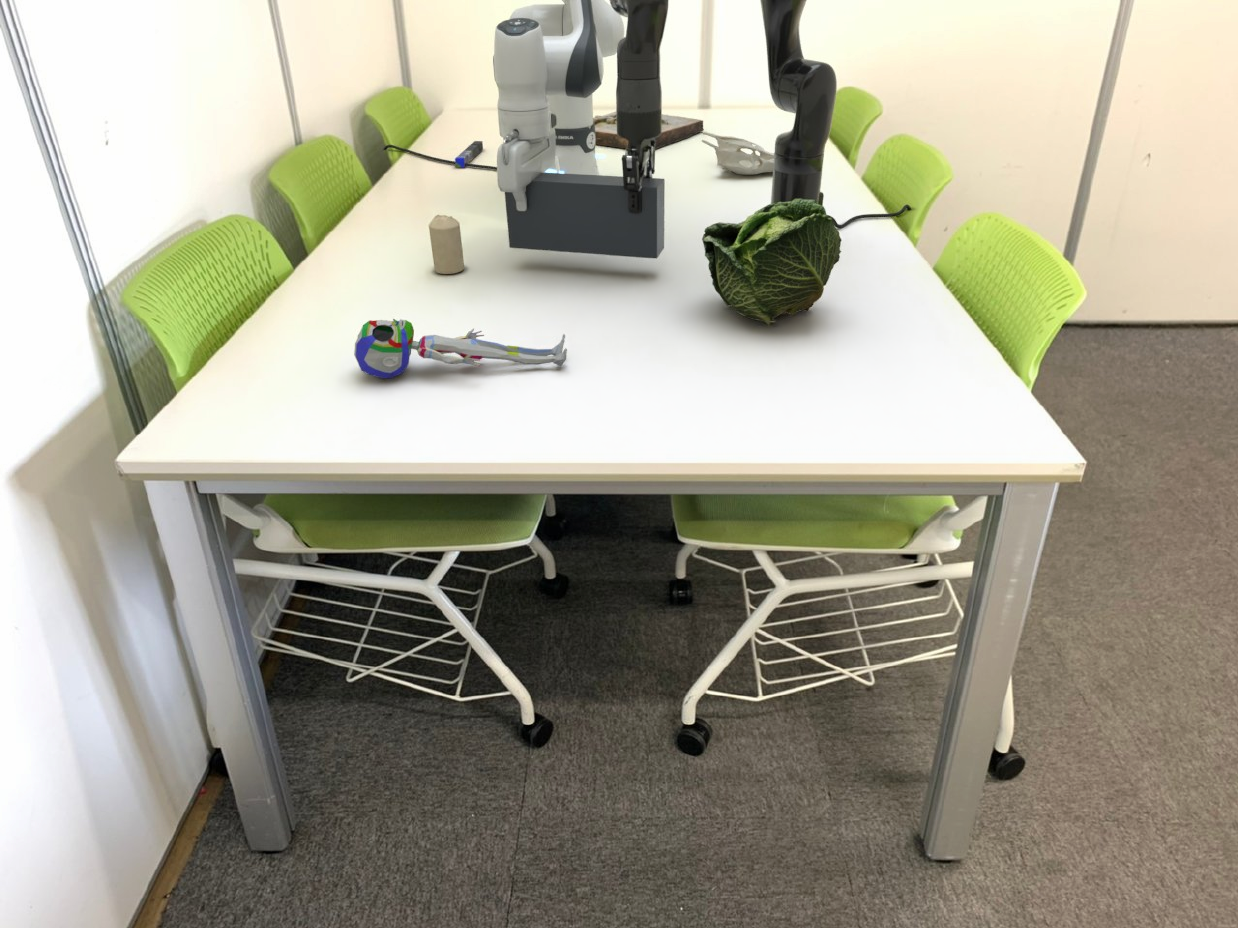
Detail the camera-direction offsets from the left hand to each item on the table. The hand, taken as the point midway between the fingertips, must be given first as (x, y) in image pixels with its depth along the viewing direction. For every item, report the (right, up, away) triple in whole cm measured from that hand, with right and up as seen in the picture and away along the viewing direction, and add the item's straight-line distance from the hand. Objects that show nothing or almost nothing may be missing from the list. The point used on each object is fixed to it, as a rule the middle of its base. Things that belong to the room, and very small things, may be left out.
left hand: (529, 204), depth 162 cm
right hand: (+20, -2, -5) cm, 21 cm away
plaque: (+20, +48, +97) cm, 110 cm away
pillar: (-24, +34, +77) cm, 87 cm away
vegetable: (+41, -22, -15) cm, 49 cm away
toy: (-7, -33, -30) cm, 45 cm away
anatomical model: (+49, +25, +61) cm, 82 cm away
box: (+10, -8, +2) cm, 13 cm away
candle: (-16, -11, +5) cm, 20 cm away
